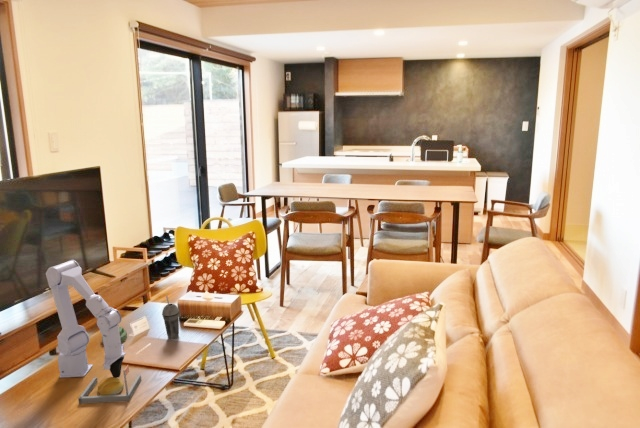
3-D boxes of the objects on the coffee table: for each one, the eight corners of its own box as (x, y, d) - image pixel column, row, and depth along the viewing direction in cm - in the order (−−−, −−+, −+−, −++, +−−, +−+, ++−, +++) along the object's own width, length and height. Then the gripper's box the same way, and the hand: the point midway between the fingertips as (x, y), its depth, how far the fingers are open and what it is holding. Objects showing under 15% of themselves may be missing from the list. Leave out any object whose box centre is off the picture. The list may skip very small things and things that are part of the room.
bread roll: (102, 401, 165) (101, 390, 164) (96, 389, 172) (94, 379, 171) (127, 391, 170) (125, 381, 169) (120, 381, 177) (118, 371, 176)
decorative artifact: (131, 338, 210) (118, 332, 215) (130, 323, 208) (116, 318, 214) (110, 347, 202) (97, 341, 207) (108, 332, 200) (95, 326, 206)
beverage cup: (185, 335, 210) (181, 293, 206) (172, 342, 204) (167, 299, 200) (174, 332, 214) (169, 290, 209) (161, 338, 208) (156, 296, 203)
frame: (79, 403, 163) (74, 373, 161) (94, 382, 176) (90, 353, 173) (129, 401, 164) (125, 370, 161) (141, 379, 177) (137, 351, 174)
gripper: (115, 352, 165) (120, 387, 169) (130, 333, 180) (134, 365, 183) (95, 353, 165) (100, 388, 168) (111, 334, 179) (115, 366, 182)
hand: (116, 376), depth 175 cm, fingers closed
